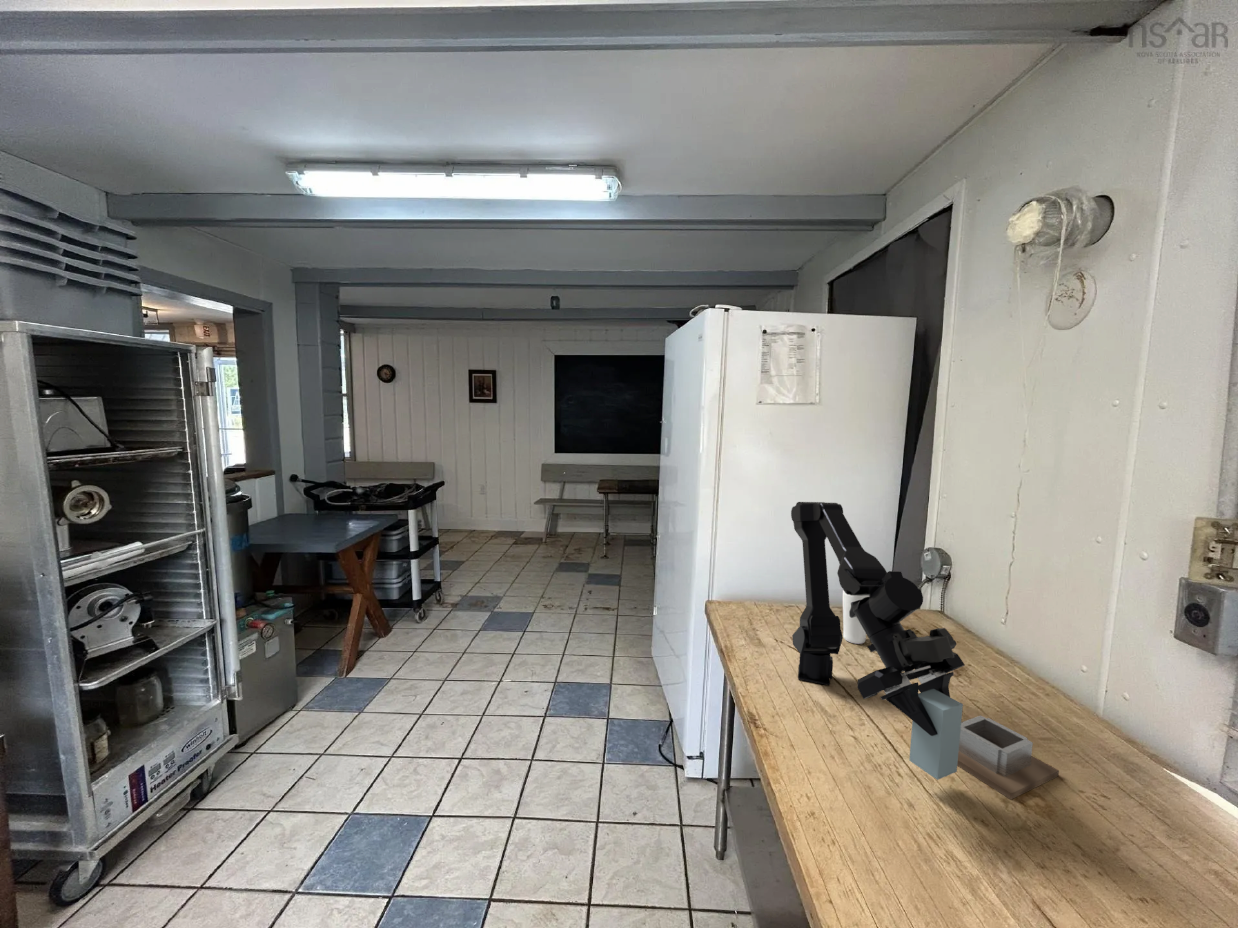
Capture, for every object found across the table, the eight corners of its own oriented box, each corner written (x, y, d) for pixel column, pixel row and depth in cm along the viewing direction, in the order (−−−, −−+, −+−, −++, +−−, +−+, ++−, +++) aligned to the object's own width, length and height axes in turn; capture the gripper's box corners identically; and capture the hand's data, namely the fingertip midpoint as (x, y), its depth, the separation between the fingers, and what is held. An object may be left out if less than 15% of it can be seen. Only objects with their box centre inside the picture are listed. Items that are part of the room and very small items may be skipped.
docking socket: (1010, 799, 75) (1013, 768, 74) (928, 746, 87) (930, 720, 86) (1058, 775, 80) (1061, 747, 80) (974, 729, 92) (976, 704, 92)
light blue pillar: (937, 779, 74) (943, 710, 72) (909, 760, 78) (914, 694, 77) (956, 771, 75) (962, 703, 74) (928, 753, 79) (933, 688, 78)
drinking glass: (835, 634, 132) (838, 580, 131) (859, 634, 133) (862, 580, 131) (848, 646, 125) (852, 589, 124) (874, 645, 126) (877, 589, 124)
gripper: (878, 620, 74) (946, 733, 65) (957, 604, 82) (1027, 702, 73) (833, 648, 82) (888, 751, 73) (909, 630, 90) (967, 722, 81)
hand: (945, 731), depth 75 cm, fingers closed on light blue pillar, 4 cm apart
